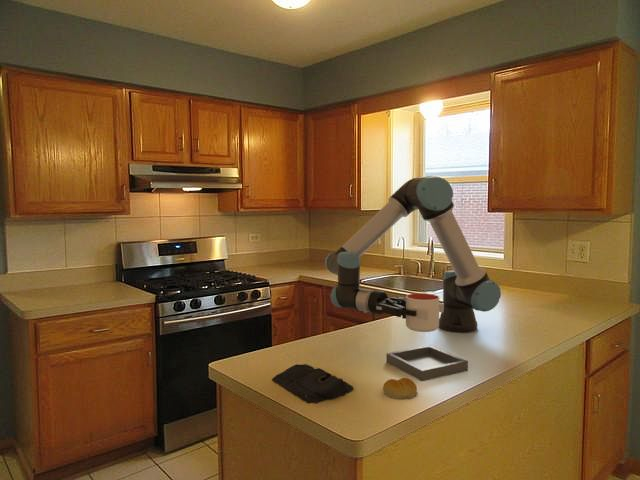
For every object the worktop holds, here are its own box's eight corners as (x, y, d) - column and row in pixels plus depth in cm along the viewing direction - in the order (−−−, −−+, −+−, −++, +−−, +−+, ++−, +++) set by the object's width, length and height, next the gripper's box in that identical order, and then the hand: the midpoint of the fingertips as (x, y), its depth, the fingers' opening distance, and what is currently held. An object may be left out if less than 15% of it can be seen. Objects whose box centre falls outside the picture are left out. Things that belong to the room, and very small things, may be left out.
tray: (429, 353, 158) (429, 345, 158) (467, 370, 143) (468, 361, 142) (386, 362, 150) (386, 353, 150) (421, 381, 135) (422, 370, 135)
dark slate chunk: (311, 369, 146) (311, 354, 145) (358, 393, 128) (358, 376, 128) (267, 381, 137) (267, 365, 136) (311, 408, 119) (311, 389, 119)
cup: (445, 331, 143) (446, 298, 142) (417, 334, 140) (417, 301, 139) (426, 322, 153) (427, 292, 152) (399, 326, 149) (399, 294, 148)
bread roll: (379, 389, 130) (379, 374, 130) (411, 387, 131) (411, 373, 131) (387, 401, 122) (387, 386, 122) (421, 399, 123) (421, 384, 123)
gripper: (390, 306, 166) (450, 316, 152) (353, 319, 148) (417, 331, 134) (390, 285, 165) (451, 293, 151) (353, 295, 148) (418, 305, 134)
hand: (435, 311), depth 143 cm, fingers closed on cup, 10 cm apart
